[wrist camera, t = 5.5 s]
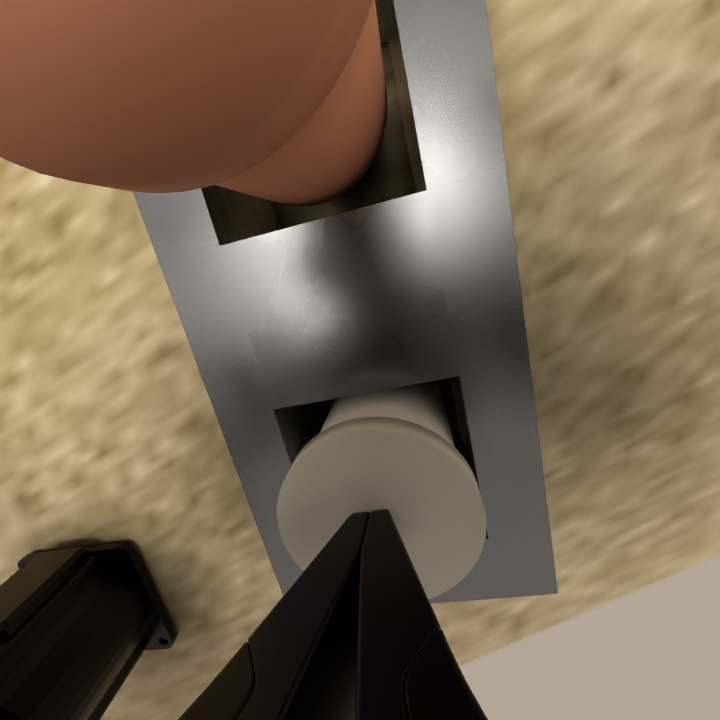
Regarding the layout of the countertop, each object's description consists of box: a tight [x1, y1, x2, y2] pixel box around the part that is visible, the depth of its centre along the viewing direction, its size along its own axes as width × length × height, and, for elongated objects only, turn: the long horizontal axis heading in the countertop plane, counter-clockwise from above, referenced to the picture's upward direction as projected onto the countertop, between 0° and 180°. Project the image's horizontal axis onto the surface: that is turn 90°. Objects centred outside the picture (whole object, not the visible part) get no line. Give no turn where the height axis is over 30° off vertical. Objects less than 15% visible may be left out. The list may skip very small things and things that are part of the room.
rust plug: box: [0, 0, 387, 206], centre depth 6 cm, size 5×5×6 cm
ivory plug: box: [277, 380, 487, 600], centre depth 11 cm, size 5×5×6 cm
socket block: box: [133, 0, 558, 604], centre depth 10 cm, size 27×8×5 cm, turn 14°
